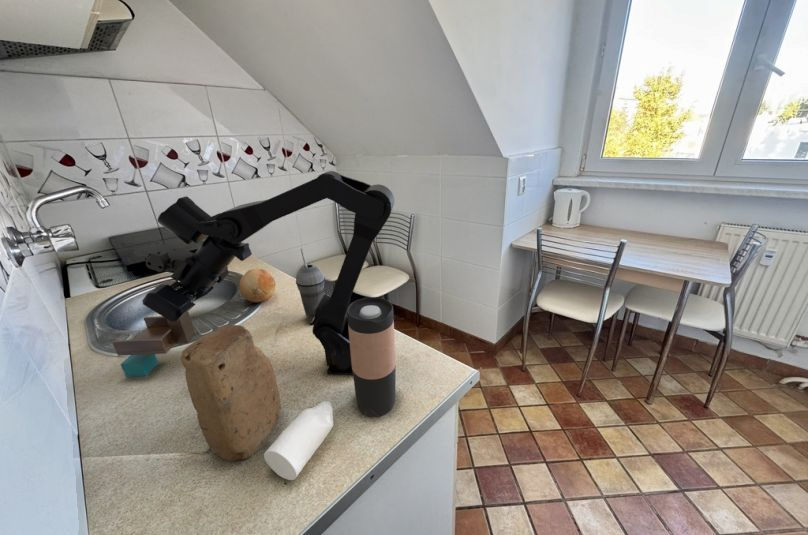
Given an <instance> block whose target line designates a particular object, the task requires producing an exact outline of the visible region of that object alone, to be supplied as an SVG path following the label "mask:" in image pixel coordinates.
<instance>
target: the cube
mask: <svg viewBox="0 0 808 535" xmlns="http://www.w3.org/2000/svg"><path fill="white" fill-rule="evenodd" d="M158 364H159V361H158V358H157V356H156V354H146V355H128V357H127V358H125V359H124V360H123V361H122V362H120V367H121V369H122V372H123V373H124V375H125V377H127V378H130V377H131V378H133V377H146V376H147V375H149V374H150V372H151V371H152V370H153V369H154V368H156V367H157V365H158Z"/></svg>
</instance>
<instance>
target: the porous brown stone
mask: <svg viewBox="0 0 808 535" xmlns="http://www.w3.org/2000/svg"><path fill="white" fill-rule="evenodd" d="M180 361H181V364H182V366H183V367H184V369H185V371H184V376H185V380H186V381H185V382H186V385H187V389H188V392H189V396H190V399H191V403H192V405H193V408H194V410H195V412H196V417H197V422H198V425H199V428H200V430H201V433H202V435H203V437H204V440H205V442H206V444H207V445H208V447H209V448H210V449H211V451H213V452H214V453H215V454H216V455H217V456H219V457H221V458H222V459H224V460H227V461H229V462H235V461H236V460H246V459H248V458H250V457H252V456H253V455H255V454H256V453H257V452H258V451H259V450H260V449H261V448H262V447H263V446H264V445H265V444H266V443H267V441H268V440H269V438H270V436H271V434H272V432H273V431H274V429H275V427H276V425H277V423H278V420H279V417H280V416H279V415H280V410H282V404H281V395H280V391H279V385H278V381H277V377H276V372H275V368H274V366H273V363H272V361H271V359H270V357H268V356H267V354H265V353H264V352H263V350H262V348H260V347H259V346H256V345H255V342H254V336H253V334H252V333H251V332H250V331H249V329H247V328H246V327H245V326H243V325H241V324H240V325H239V324H225V325H224V324H223V325H221V326H219V327H217V328H215V329H214V330H212V331H210V332H208V333H205V334H203V335H201V337H199V338H198V339H197V340H195V341H193V342H192V343H190V344H189V345H188V346H187V347H186V348H185V349H183V350H182V351H181V354H180Z"/></svg>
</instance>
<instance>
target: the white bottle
mask: <svg viewBox="0 0 808 535" xmlns="http://www.w3.org/2000/svg"><path fill="white" fill-rule="evenodd" d="M332 406H333V404H331V402H330V401H329V400H323V401H321V402H319V403H318V404H317V405H316V406H314V407H310V408H309V407H308V408H305V409H303V410H302V411H300V412H299V414H297V416H296V417H295V418H294V419H293V421H292V422H291V423H289V425H288V426H287V427H286V428H285V429H283V431H281V433H280V434H279V436H277V438H276V439H275V441H274V442H273V443H272V444H271V445H270V446H269V448H268V449H267V450H265V451H264V454H263V458H264V460H265V463H266V464H267V465H268V467H269V468H270V469H271V470H272V471H273V472H274V473H275V474H276V475H278V476H279V477H281V478H282V479H285V480H288V481H294V480H296V479H297V477H298V476H299V474H300V473H301V472H302V471H303V469H304V468H305V466H306V465H307V463H308V461H309V460H310V459H311V458H312V457H313V455H314V454H315V452H316V451H317V450H318V448H319V447H320V446H321V445H322V443H323V442H324V440H325V439H326V438H327V436H328V435H329V433H330V431H331V430H332V429H333V427H334V409H333V407H332Z"/></svg>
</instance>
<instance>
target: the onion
mask: <svg viewBox="0 0 808 535" xmlns="http://www.w3.org/2000/svg"><path fill="white" fill-rule="evenodd" d="M275 291H276V280H275V278H274V276H273V275H272V274H271V273H270V272H269V271H267V270H266V269H264V268H253V269H252V268H251V269H249V270H248V271H246V272H245V273H244V274H243V275H242V276H241V278H240V280H239V292H240V295H241V296H242V297H243V298H244V299H245V300H247V301H248V302H250V303H260V302H264V301H268V300H269V299H271V298H272V297H273V296H274V294H275Z"/></svg>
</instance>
